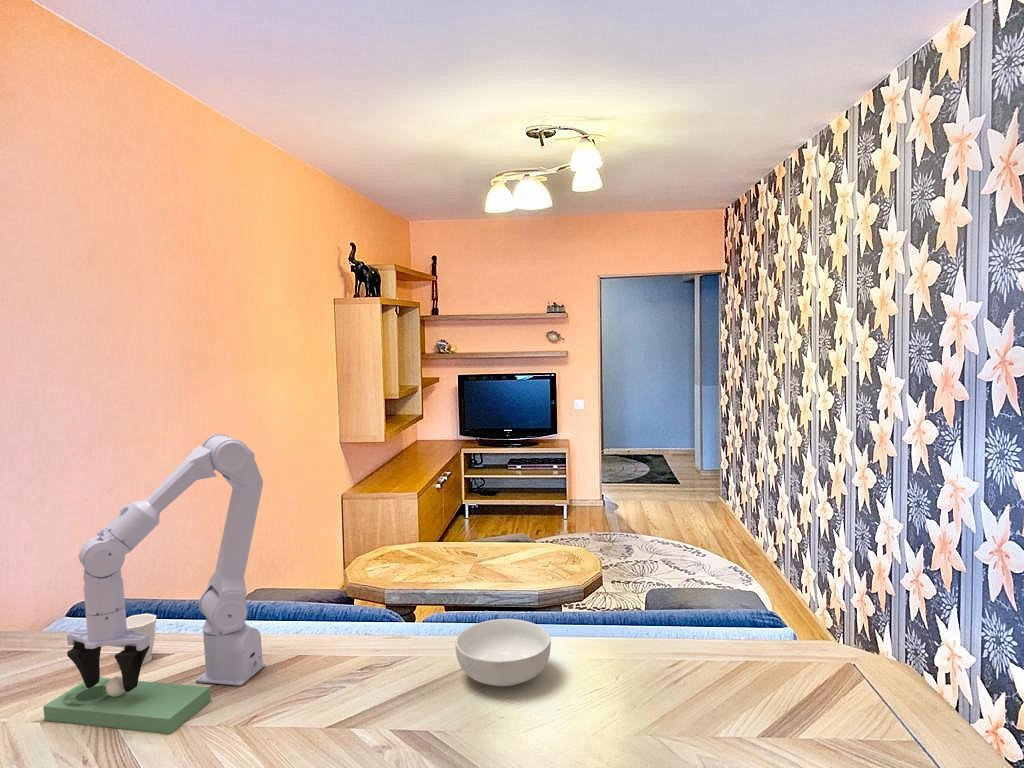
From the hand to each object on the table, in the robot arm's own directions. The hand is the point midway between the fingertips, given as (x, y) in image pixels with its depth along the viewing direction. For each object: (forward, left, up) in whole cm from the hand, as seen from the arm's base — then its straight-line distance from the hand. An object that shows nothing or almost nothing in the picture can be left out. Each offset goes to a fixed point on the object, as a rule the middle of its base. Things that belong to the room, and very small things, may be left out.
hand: (111, 687), depth 118 cm
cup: (+10, -17, -4) cm, 20 cm away
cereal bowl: (-63, -21, -4) cm, 67 cm away
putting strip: (-3, 0, -4) cm, 5 cm away
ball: (-1, 0, 0) cm, 1 cm away
